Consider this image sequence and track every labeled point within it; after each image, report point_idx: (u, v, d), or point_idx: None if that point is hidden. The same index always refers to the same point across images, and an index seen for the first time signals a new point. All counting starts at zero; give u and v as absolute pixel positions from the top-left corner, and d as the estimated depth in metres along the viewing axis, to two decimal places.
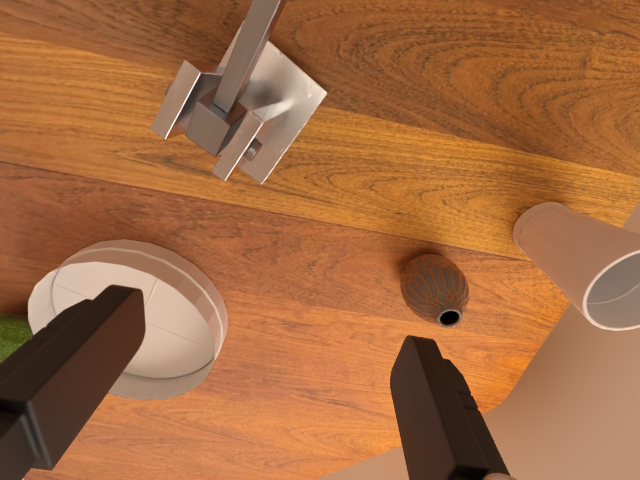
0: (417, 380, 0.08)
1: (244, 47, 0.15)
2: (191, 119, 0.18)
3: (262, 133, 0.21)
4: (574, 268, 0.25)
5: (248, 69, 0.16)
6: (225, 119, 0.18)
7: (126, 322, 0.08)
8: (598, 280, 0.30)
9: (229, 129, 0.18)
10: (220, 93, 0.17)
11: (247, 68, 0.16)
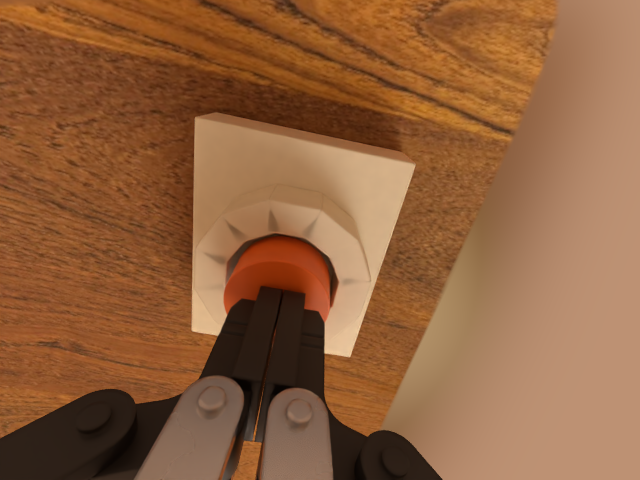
0: None
1: None
2: None
3: None
4: None
5: None
6: None
7: (276, 319, 0.09)
8: None
9: None
10: None
11: None
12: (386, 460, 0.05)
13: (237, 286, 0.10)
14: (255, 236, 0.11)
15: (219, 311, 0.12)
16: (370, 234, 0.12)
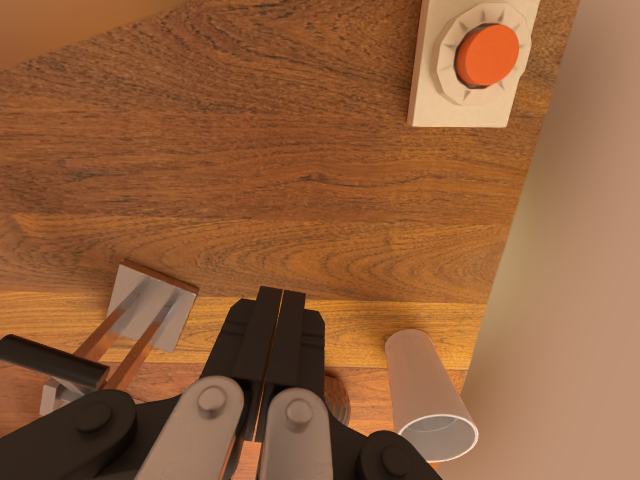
0: None
1: (69, 387, 0.24)
2: (65, 401, 0.27)
3: (124, 380, 0.29)
4: (394, 418, 0.32)
5: (78, 391, 0.25)
6: None
7: (276, 319, 0.09)
8: None
9: None
10: (74, 392, 0.26)
11: (78, 391, 0.24)
12: (386, 460, 0.05)
13: (474, 46, 0.21)
14: (473, 27, 0.22)
15: (447, 84, 0.23)
16: None
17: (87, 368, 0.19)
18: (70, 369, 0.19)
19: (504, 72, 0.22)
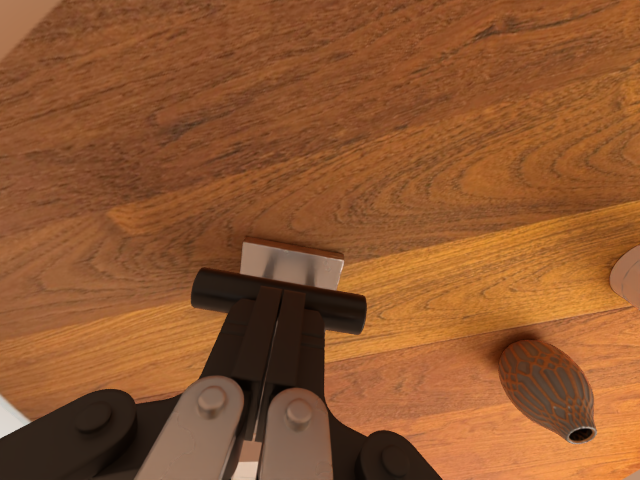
0: None
1: None
2: None
3: None
4: None
5: None
6: None
7: (276, 319, 0.09)
8: None
9: None
10: None
11: None
12: (386, 460, 0.05)
13: None
14: None
15: None
16: None
17: (339, 296, 0.11)
18: (317, 300, 0.11)
19: None
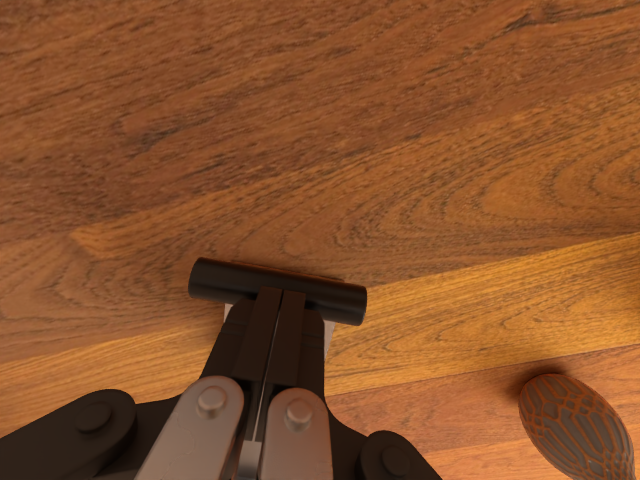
0: None
1: (255, 426, 0.13)
2: None
3: None
4: None
5: None
6: None
7: (276, 319, 0.09)
8: None
9: None
10: (243, 466, 0.14)
11: None
12: (386, 460, 0.05)
13: None
14: None
15: None
16: None
17: (339, 284, 0.11)
18: (317, 284, 0.11)
19: None
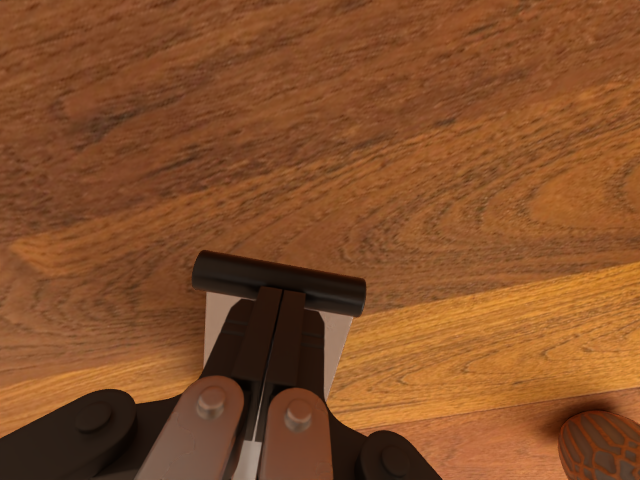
0: None
1: (243, 474, 0.11)
2: None
3: None
4: None
5: None
6: None
7: (276, 318, 0.09)
8: None
9: None
10: None
11: None
12: (386, 460, 0.05)
13: None
14: None
15: None
16: None
17: None
18: (318, 271, 0.11)
19: None
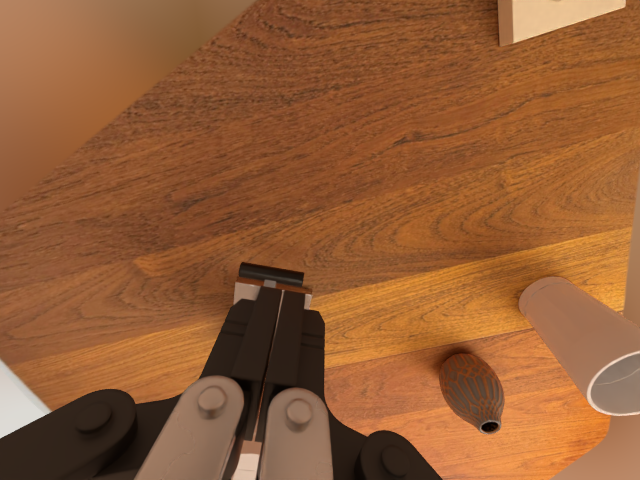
0: None
1: None
2: None
3: None
4: (572, 372, 0.28)
5: None
6: None
7: (276, 319, 0.09)
8: None
9: None
10: None
11: None
12: (386, 460, 0.05)
13: None
14: None
15: None
16: None
17: None
18: (285, 269, 0.29)
19: None
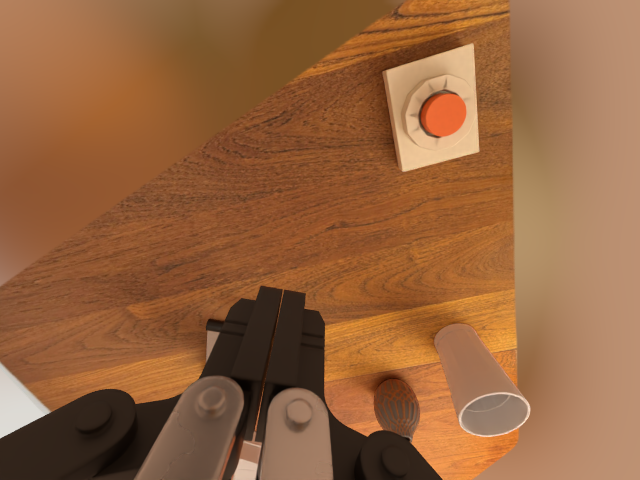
0: None
1: None
2: None
3: None
4: None
5: None
6: None
7: (276, 319, 0.09)
8: None
9: None
10: None
11: None
12: (386, 460, 0.05)
13: (430, 114, 0.28)
14: (426, 97, 0.28)
15: (419, 140, 0.30)
16: None
17: None
18: None
19: (459, 123, 0.28)
